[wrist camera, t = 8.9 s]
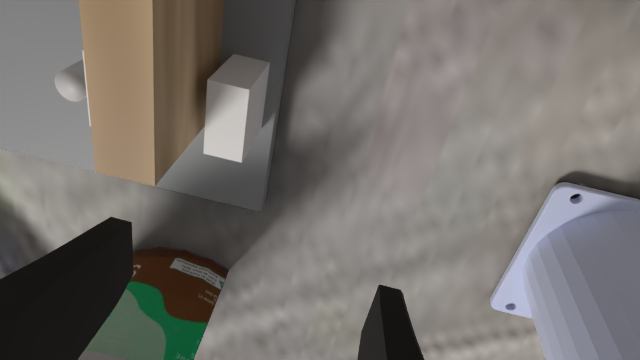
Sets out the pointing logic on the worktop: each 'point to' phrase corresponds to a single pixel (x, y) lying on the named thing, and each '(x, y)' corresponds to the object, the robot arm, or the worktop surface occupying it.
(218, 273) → the food container
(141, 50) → the oak block
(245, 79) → the board
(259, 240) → the worktop surface
